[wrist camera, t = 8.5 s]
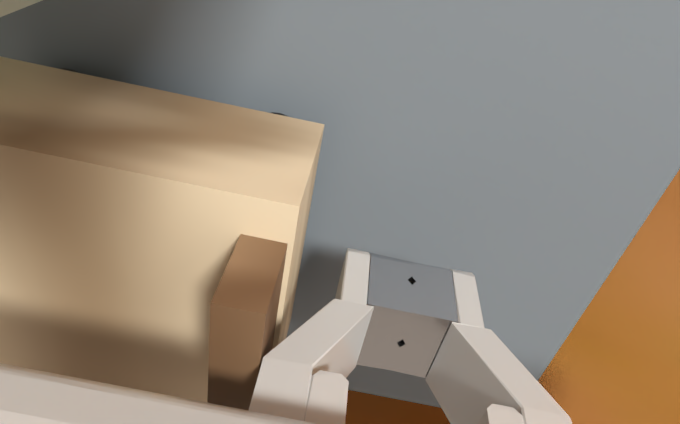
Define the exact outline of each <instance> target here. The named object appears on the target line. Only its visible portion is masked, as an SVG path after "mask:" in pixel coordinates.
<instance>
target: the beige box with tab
mask: <svg viewBox="0 0 680 424" xmlns="http://www.w3.org/2000/svg"><path fill="white" fill-rule="evenodd" d="M324 125H325V124H320V123H316V122H311V121H306V120H301V119H296V118H292V117H288V116H286V115H284V114H281V113H276V112H272V113H268V112H263V111H258V110H254V109H249V108H244V107H239V106H234V105H230V104H225V103H220V102H215V101H211V100H206V99H201V98H196V97H191V96H187V95H182V94H177V93H172V92H168V91H163V90H158V89H153V88H149V87H144V86H139V85H134V84H129V83H125V82H120V81H115V80H110V79H106V78H101V77H96V76H91V75H86V74H82V73H79V72H77V71H74V70H71V69H66V68H62V69H58V68H53V67H48V66H44V65H39V64H34V63H29V62H24V61H20V60H15V59H10V58H5V57H1V56H0V363H3V364H8V365H14V366H19V367H24V368H29V369H35V370H40V371H45V372H50V373H55V374H61V375H66V376H71V377H76V378H82V379H87V380H92V381H97V382H102V383H108V384H113V385H118V386H123V387H128V388H134V389H139V390H144V391H149V392H155V393H160V394H165V395H170V396H175V397H181V398H186V399H191V400H196V401H201V402H207V403H212V404H217V405H222V406H227V407H233V408H238V409H243V410H249V407H250V403H251V399H252V396H253V392H254V389H255V385H256V382H257V378H258V375H259V371H260V367H261V364H262V360H263V357H264V356H265V355H266V354H268V353H269V352H270V351H271V350H272V349H274V348H275V347H276V346H277V345H278V344H280V343H281V342H282V341H283V340H284V339H286V337H287V333H288V328H289V324H290V320H291V316H292V310H293V304H294V298H295V293H296V287H297V281H298V275H299V269H300V264H301V258H302V252H303V246H304V241H305V235H306V229H307V223H308V217H309V212H310V206H311V200H312V194H313V189H314V183H315V177H316V171H317V165H318V160H319V154H320V148H321V142H322V137H323V131H324Z"/></svg>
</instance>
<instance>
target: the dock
mask: <svg viewBox="0 0 680 424" xmlns="http://www.w3.org/2000/svg"><path fill="white" fill-rule="evenodd" d="M0 56H1V57H5V58H10V59H15V60H20V61H24V62H29V63H34V64H39V65H44V66H48V67H53V68H58V69H62V68H66V69H71V70H74V71H77V72H79V73H82V74H86V75H91V76H96V77H101V78H106V79H110V80H115V81H120V82H125V83H129V84H134V85H139V86H144V87H149V88H153V89H158V90H163V91H168V92H172V93H177V94H182V95H187V96H191V97H196V98H201V99H206V100H211V101H215V102H220V103H225V104H230V105H234V106H239V107H244V108H249V109H254V110H258V111H263V112H268V113H272V112H276V113H281V114H284V115H286V116H288V117H292V118H296V119H301V120H306V121H311V122H316V123H320V124H325V125H324V131H323V137H322V142H321V148H320V154H319V160H318V165H317V171H316V177H315V183H314V189H313V194H312V200H311V206H310V212H309V217H308V223H307V229H306V235H305V241H304V246H303V252H302V258H301V264H300V269H299V275H298V281H297V287H296V293H295V298H294V304H293V310H292V316H291V320H290V324H289V328H288V333H287V337H288V336H289V335H291V334H292V333H293V332H294V331H295V330H297V329H298V328H299V327H300V326H301V325H303V324H304V323H305V322H306V321H307V320H309V319H310V318H311V317H312V316H313V315H315V314H316V313H317V312H318V311H319V310H321V309H322V308H323V307H324V306H325V305H327V304H328V303H329V302H330V301H332V300H333V299H335V296H336V292H337V287H338V283H339V279H340V275H341V271H342V267H343V262H344V258H345V254H346V251H347V249H348V248H350V249H355V250H360V251H364V252H369V254H370V253H375V254H379V255H384V256H388V257H392V258H397V259H401V260H406V261H410V262H415V263H420V264H425V265H430V266H435V267H440V268H446V269H449V270H450V269H454V270H460V271H465V272H471V273H473V274H474V276H475V280H476V285H477V290H478V296H479V301H480V306H481V312H482V317H483V322H484V327H485V328H486V329H491V330H492V331H493V332H494V333H495V334H496V335H497V337H498V338H499V339H500V340H501V341H502V342H503V343H504V344H505V345H506V347H507V348H508V349H509V350H510V351H511V352H512V353H513V354H514V355H515V357H516V358H517V359H518V360H519V361H520V362H521V363H522V364H523V365H524V367H525V368H526V369H527V370H528V371H529V372H530V373H531V374H532V375H533V377H534V378H535V379H536V380H537V381H538V380H539V378H540V377H541V375H542V374H543V372H544V371H545V369H546V368H547V366H548V365H549V363H550V362H551V360H552V359H553V357H554V356H555V354H556V353H557V351H558V350H559V348H560V347H561V345H562V344H563V342H564V341H565V339H566V338H567V336H568V335H569V333H570V332H571V330H572V329H573V327H574V326H575V324H576V323H577V321H578V320H579V318H580V317H581V315H582V314H583V312H584V311H585V309H586V308H587V306H588V305H589V303H590V302H591V300H592V299H593V297H594V296H595V294H596V293H597V291H598V290H599V288H600V287H601V285H602V284H603V282H604V281H605V280H606V278H607V277H608V275H609V274H610V272H611V271H612V269H613V268H614V266H615V265H616V263H617V262H618V260H619V259H620V257H621V256H622V254H623V253H624V251H625V250H626V248H627V247H628V245H629V244H630V242H631V241H632V239H633V238H634V236H635V235H636V233H637V232H638V230H639V229H640V227H641V226H642V224H643V223H644V221H645V220H646V218H647V217H648V215H649V214H650V212H651V211H652V209H653V208H654V206H655V205H656V203H657V202H658V200H659V199H660V197H661V196H662V194H663V193H664V191H665V190H666V188H667V187H668V185H669V184H670V182H671V181H672V179H673V178H674V176H675V175H676V173H677V172H678V170H679V169H680V0H0ZM287 337H286V338H287ZM346 379H347V380H348V381H349V385H348V390H352V391H357V392H362V393H368V394H373V395H378V396H383V397H388V398H393V399H399V400H404V401H409V402H414V403H419V404H424V405H430V406H435V407H440V408H441V406H440V405H439V403H438V401H437V399H436V398H435V396H434V394H433V392H432V391H431V389H430V387H429V385H428V384H427V382H426V380H425V379H426V378H423V377H418V376H414V375H409V374H405V373H400V372H396V371H391V370H386V369H380V368H374V367H368V366H362V365H356V367H355V368H354V369H353V371H352V372H351V373H350V374H349V375H348V376H347V378H346Z"/></svg>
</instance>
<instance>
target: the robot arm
mask: <svg viewBox="0 0 680 424" xmlns="http://www.w3.org/2000/svg"><path fill="white" fill-rule="evenodd" d="M356 365H362V366H368V367H374V368H380V369H386V370H391V371H396V372H400V373H405V374H409V375H414V376H418V377H423V378H426V379H425V380H426V382H427V384H428V385H429V387H430V389H431V391H432V392H433V394H434V396H435V398H436V399H437V401H438V403H439V405H440V406H441V408H442V410H443V412H444V413H445V415H446V417H447V419H448V420H449V422H450V424H572V421H571V418H570V417H569V415H568V414H567V413H566V412H565V411H564V410H563V409H562V408H561V407H560V405H559V404H558V403H557V402H556V401H555V400H554V399H553V398H552V397H551V395H550V394H549V393H548V392H547V391H546V390H545V389H544V388H543V387H542V385H541V384H540V383H539V382H538V381H537V380H536V379H535V378H534V377H533V375H532V374H531V373H530V372H529V371H528V370H527V369H526V368H525V367H524V365H523V364H522V363H521V362H520V361H519V360H518V359H517V358H516V357H515V355H514V354H513V353H512V352H511V351H510V350H509V349H508V348H507V347H506V345H505V344H504V343H503V342H502V341H501V340H500V339H499V338H498V337H497V335H496V334H495V333H494V332H493V331H492V330H491V329H486V328H485V327H484V322H483V317H482V312H481V306H480V301H479V296H478V290H477V285H476V280H475V276H474V274H473V273H471V272H465V271H460V270H454V269H450V270H449V269H446V268H440V267H435V266H430V265H425V264H420V263H415V262H410V261H406V260H401V259H397V258H392V257H388V256H384V255H379V254H375V253H370V254H369V252H364V251H360V250H355V249H350V248H348V249H347V251H346V254H345V258H344V262H343V267H342V271H341V275H340V279H339V283H338V287H337V292H336V296H335V299H333V300H332V301H330V302H329V303H328V304H327V305H325V306H324V307H323V308H322V309H321V310H319V311H318V312H317V313H316V314H315V315H313V316H312V317H311V318H310V319H309V320H307V321H306V322H305V323H304V324H303V325H301V326H300V327H299V328H298V329H297V330H295V331H294V332H293V333H292V334H291V335H289V336H288V337H287V338H286V339H284V340H283V341H282V342H281V343H280V344H278V345H277V346H276V347H275V348H274V349H272V350H271V351H270V352H269V353H268V354H266V355H265V356H264V357H263V360H262V364H261V367H260V371H259V375H258V378H257V382H256V385H255V389H254V392H253V396H252V399H251V403H250V407H249V410H243V409H238V408H233V407H227V406H222V405H217V404H212V403H207V402H201V401H196V400H191V399H186V398H181V397H175V396H170V395H165V394H160V393H155V392H149V391H144V390H139V389H134V388H128V387H123V386H118V385H113V384H108V383H102V382H97V381H92V380H87V379H82V378H76V377H71V376H66V375H61V374H55V373H50V372H45V371H40V370H35V369H29V368H24V367H19V366H14V365H8V364H3V363H0V424H345V420H346V408H347V396H348V385H349V381H348V380H347V379H346V378H347V376H348V375H349V374H350V373H351V372H352V371H353V369H354V368H355V367H356Z"/></svg>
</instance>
